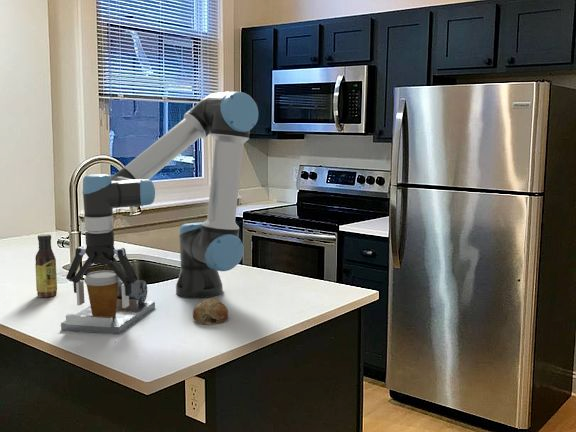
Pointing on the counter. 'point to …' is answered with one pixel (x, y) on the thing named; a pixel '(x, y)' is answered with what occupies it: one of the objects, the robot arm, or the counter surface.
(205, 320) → the bread roll
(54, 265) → the sauce bottle
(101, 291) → the disposable coffee cup
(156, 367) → the counter surface
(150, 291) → the counter surface
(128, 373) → the counter surface
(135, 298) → the block
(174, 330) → the counter surface
